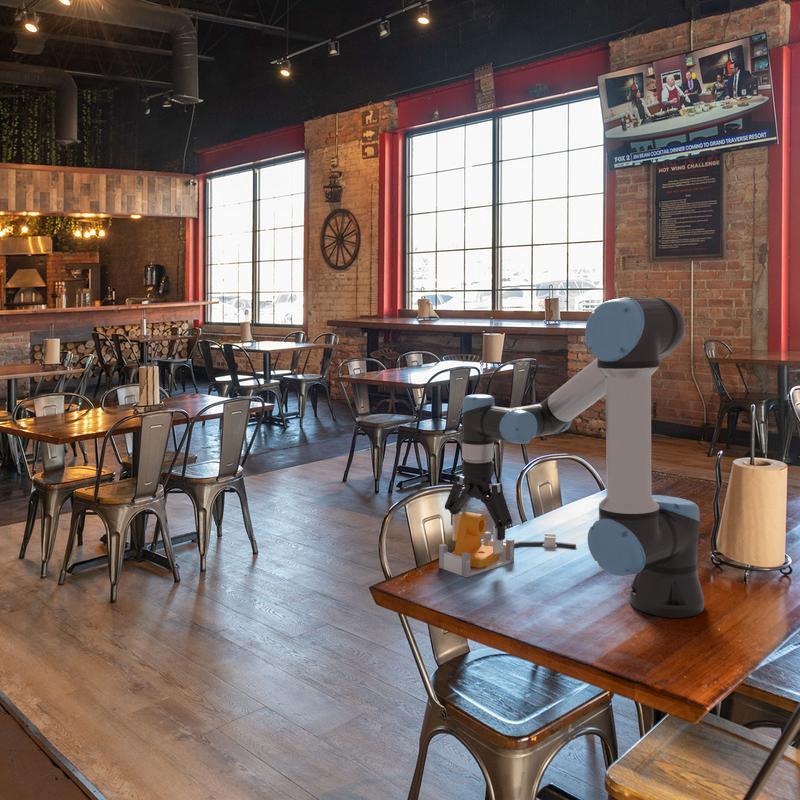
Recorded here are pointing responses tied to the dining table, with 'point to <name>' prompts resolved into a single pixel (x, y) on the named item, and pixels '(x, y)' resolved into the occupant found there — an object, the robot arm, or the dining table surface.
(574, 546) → the cable route
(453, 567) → the holder
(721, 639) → the dining table surface
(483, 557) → the bracket
